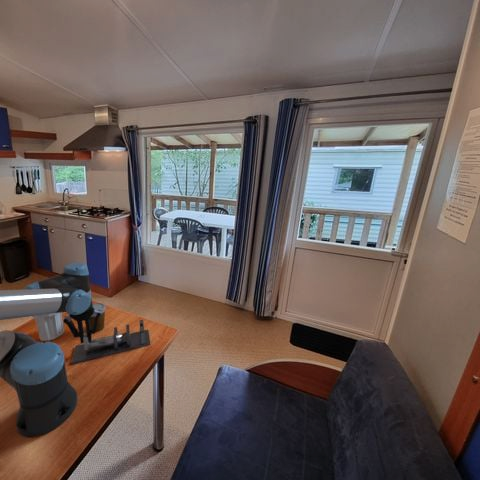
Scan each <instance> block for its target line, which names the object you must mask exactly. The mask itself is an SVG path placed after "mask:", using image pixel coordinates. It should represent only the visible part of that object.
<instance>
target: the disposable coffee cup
mask: <svg viewBox="0 0 480 480" xmlns="http://www.w3.org/2000/svg"><path fill="white" fill-rule="evenodd" d="M92 304H93V308H94V309H95V310H96V311H99V310H100V311H101V315H100V316H99V318H98V321H97V326H96V331H95V333H98V332H101V331H103V329H105V317H106V309H107V306H106V305H105V304H104V303H102V302H95V303H93V302H92ZM94 319H95V316H94V313H93V315H92V316H91V317H90V319H89V320H90V327H91V330H92V329H93V324H94Z"/></svg>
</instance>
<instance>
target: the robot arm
mask: <svg viewBox="0 0 480 480" xmlns="http://www.w3.org/2000/svg"><path fill="white" fill-rule="evenodd" d="M90 282H91V281H90V272H89V269H88V265H87V264H86V263H83V262H73V263H69V264H67V265H65V266H64V267H63V271H62V273H60V274H57V275H54V276H51V277H47V278H45V279H42V280H39V281H35V282H33V283H30V284H28V285H26V286H25V287H24V288H23V289H5V290H3V289H2V290H1V289H0V321H5V320H11V319H12V320H13V319H20V318H29V317H32V316H37V315H44V314H52V313H61V312H62V313H66V314H68V315H66V316H64V317H63V319H62V320H63V324H66V326H67V327H68V329H69V330H70V332H71V334H72V336H73V338H75V339H76V338H79V340H80V341H79V342H80V345H81V344H84V347H85V350H89V348H88V342H90V341H91V340H93V339H92V338H93V337H92V335H94V334H95V333H96V332H95V331H96V326H97V321H98V318H99V316H100V315H101V311H100V310H99V311H96V310H95V309H94V308H93V299H92V290H91V283H90ZM93 313H94V316H95V319H94V324H93V329H92V330H91V327H90V320H89V319H90V317H91V316H92V315H93ZM73 320H74V321H76V324H77V326H76V325H75V323H74V322H73ZM83 322H84V325H85V330H86V333H85V330H84V326H83ZM65 361H66V360H65V354H64V352H63V350H62V347H61V346H60V345H58V344H57V343H56V342H52V341H49V342H43V341H40V342H39V341H37V340H36V339H34V338H33V337H31V336H30V335H29V334H27V333H24V332H19V331H18V332H17V331H12V330H10V329H9V330H8V329H5V330H2V331H0V378H1V379H2V380H3V381H4V382H6V383H7V384H8V385H9V386H11V387H12V388H13V389H14V390H15V392H16V395H17V398H18V403H19V408H18V411H17V416H16V420H15V425H16V429H17V432H18V434H20V435H21V436H23V437H25V438H34V437H39V436H43V435H45V434H46V435H47V433H50V432H52V431H53V430H55V429H57V428H58V427H60V426H61V425H62V424H63V423H64V422H65V421H67V419H68V418H70V417H71V415H72V414H73V413H74V411H75V410H76V407H77V405H78V400H79V399H78V393H77V390H76V388H74V386H73V385H72V384H71V383H70V382H68V381H69V380H68V375H67V374H68V373H67V368H66V362H65Z"/></svg>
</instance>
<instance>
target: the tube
mask: <svg viewBox="0 0 480 480" xmlns="http://www.w3.org/2000/svg"><path fill="white" fill-rule="evenodd" d="M129 333H131V332H129ZM122 342H127V334H126V331H125V332H121V333H118V334H117V343H122ZM109 345H114V334H113V335H108V336H104V337H98V338H95V339H92V340H91V341H90V342H88V348H89V350H93V349H97V348H101V347H105V346H109Z"/></svg>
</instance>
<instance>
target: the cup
mask: <svg viewBox="0 0 480 480" xmlns="http://www.w3.org/2000/svg"><path fill="white" fill-rule="evenodd" d="M62 313H63V312H61V313H52V314H44V315H37V316H31V318H33V319H34V320H35V324H36V329H37V332H38V335H39V336H38V337H39V341H40V342H43V343H46V342H52V341H55V340H57V338H58V339H59V338H60V337H62V336H63V335H64V334H65V328H64V322H63V320H64V319H63V314H62Z"/></svg>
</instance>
